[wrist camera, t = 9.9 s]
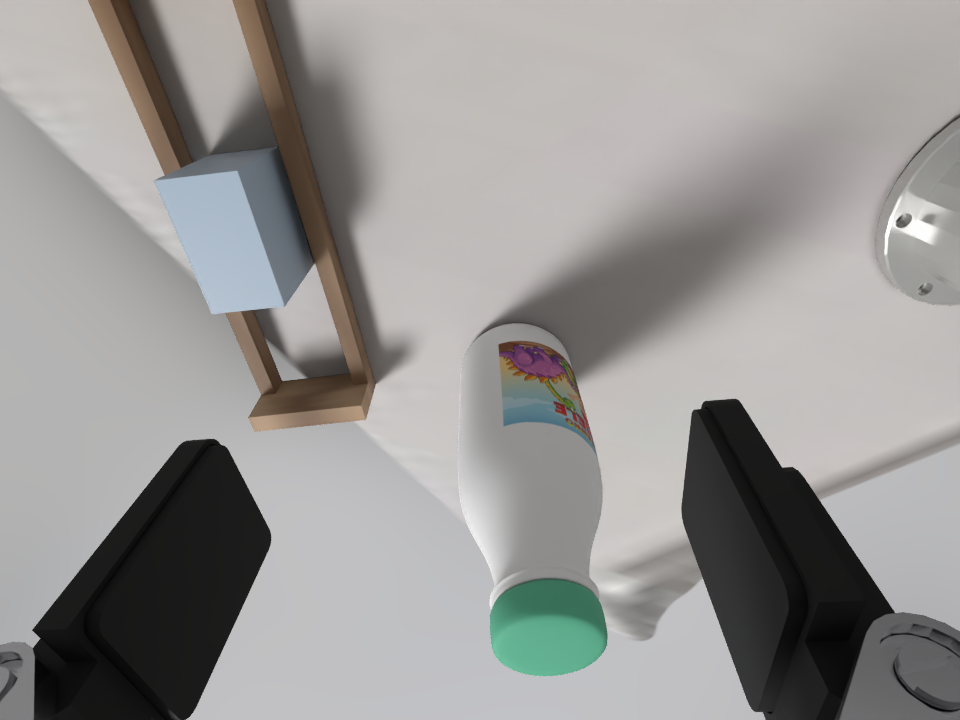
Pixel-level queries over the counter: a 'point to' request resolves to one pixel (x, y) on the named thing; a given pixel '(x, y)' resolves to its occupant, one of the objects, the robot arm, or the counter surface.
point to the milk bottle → (531, 498)
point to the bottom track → (321, 394)
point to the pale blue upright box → (238, 228)
